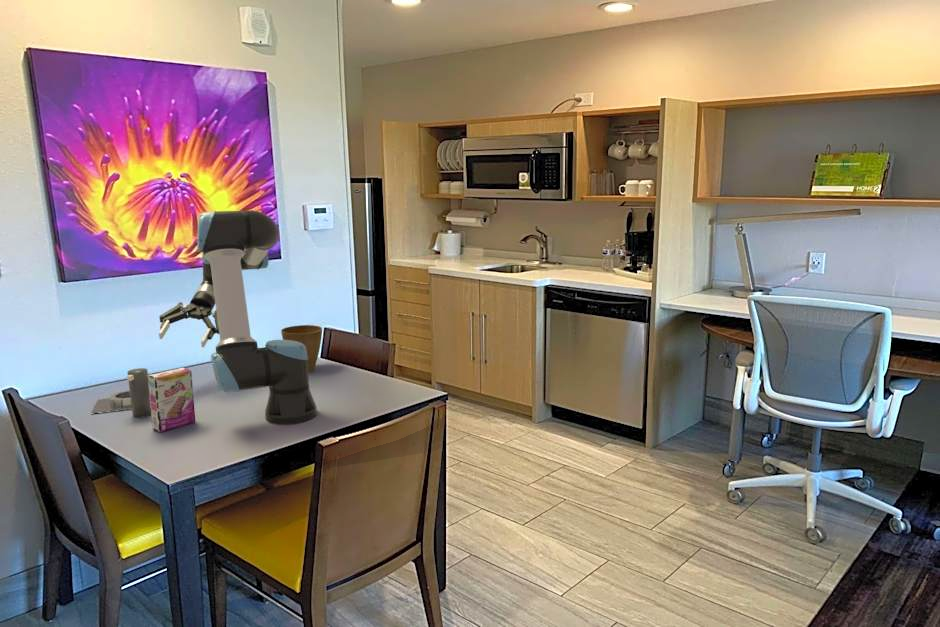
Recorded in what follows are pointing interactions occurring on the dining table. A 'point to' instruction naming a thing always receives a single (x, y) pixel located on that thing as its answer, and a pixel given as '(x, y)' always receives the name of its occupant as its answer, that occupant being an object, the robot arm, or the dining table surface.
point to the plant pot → (305, 340)
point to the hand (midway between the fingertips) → (181, 340)
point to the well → (114, 402)
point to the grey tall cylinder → (139, 392)
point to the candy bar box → (171, 399)
